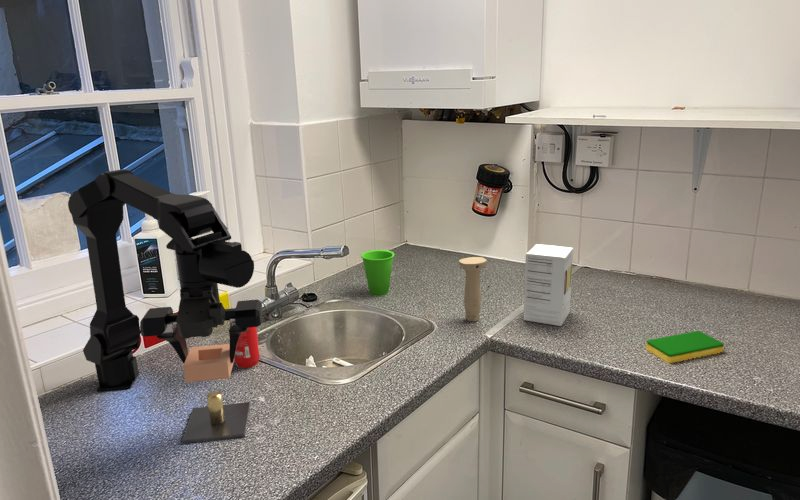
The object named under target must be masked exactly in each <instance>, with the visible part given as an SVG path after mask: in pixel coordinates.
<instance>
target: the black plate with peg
mask: <svg viewBox="0 0 800 500" xmlns="http://www.w3.org/2000/svg"><path fill="white" fill-rule="evenodd" d="M206 398H207V406H201V407H199V406H198V407H193V408H192V411H191V414H190V417H189V420H188V423H187V425H186V429H185V431H184V434H183V438H182V444H189V443H190V444H192V443H199V442H200V443H201V442H209V441H216V440H226V439H236V438H244V437H245V436H246V431H247V424H248V420H249V419H248V418H249V414H250V413H249V412H250V406H251V402H250V401H249V402H248V401H247V402H240V403H231V404H223V402H224V401H223V394H222V392H221V391H217V390H216V391H212V392H209V393H208V394H207V395H206Z"/></svg>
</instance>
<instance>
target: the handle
mask: <svg viewBox="0 0 800 500" xmlns="http://www.w3.org/2000/svg"><path fill="white" fill-rule="evenodd" d="M458 261H459V262H458V265H459V267H460V268H461V269H463V270H464V271H465V279H464V280H465V283H464V296H463V298H464V299H463V301H464V303H463V305H464V312H465V314H464V315H465V320H467V322H475V323H476V322H477V321H479V320H480V316H481V314H480V313H481V306H482V290H481V270H482V269H484V268H485V267H486V266H487V263H488V262H487V259H486V258H484V257H482V256H472V257H464V258H460V259H459V260H458Z"/></svg>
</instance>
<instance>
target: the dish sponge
mask: <svg viewBox="0 0 800 500" xmlns="http://www.w3.org/2000/svg"><path fill="white" fill-rule="evenodd" d="M645 350H647V352H650V353H651V354H653V355H655V356H656V357H658V358H659V359H661V360H663V361H664V362H666V363H667V364H673V363H678V362H682V361H683V360H684V361H687V360H688V359H689V360H693V359H692V358H694V359H697V358H696V357H698V358H702V357H701V356H703V357H707V355H708V356H712V355H711V354H713V355H717V353H718V354H721V353H720V352H722V353H724V352H723V350H724V343H723V342H722V341H720V340H717V339H716V338H714V337H712V336H710V335H708V334H706V333H705V332H702V331H700V330H695V331H689V332H685V333H679V334H673V335H669V336H664V337H660V338H659V337H658V338H654V339H648V340H646V347H645Z"/></svg>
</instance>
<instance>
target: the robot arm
mask: <svg viewBox="0 0 800 500" xmlns="http://www.w3.org/2000/svg"><path fill="white" fill-rule="evenodd" d="M126 204H127V205H128V206H130V207H133V209H135V210H138V211H140V212H143V213H144V214H146V215H147V216H149V217H151V218H153V219H154V220H156V221H157V225H158V229H159V230H161V231H162V232H164V234H165V235H167V236H168V237H169V238H171V239H170V241H169V242H168V243H167V244H166V245H165V246H166V249H168V250H171V251H175V259H176V260H175V261H176V267H177V273H178V280H179V285H180V286H179V287H180V288H179V296H180V300H179V305H178V311H177V312H174V310H173V308H172V307H171V306H164V307H152V308H150V307H149V309H148V310H147V311H146V312H145V314H144V315H143V317H142V318H141V320H140V317H139V316H138V315H136V314H134V313H133V312H132V311H131V310H130V309H129V308H128V307H127V305H126V298H125V292H124V291H125V289H124V284H123V277H122V269H121V263H120V260H121V259H120V254H119V247H118V239H117V233H118V231H119V230H120V228H121V225H122V224H123V220H124V206H125V205H126ZM67 207H68V211H69V213H70V214H71V218H72V222H73V224H74V225H75V227H77V228H78V230H79V231H80V232H81V233H82V234H83V235H84V236H85V239H86V245H87V253H88V258H89V259H88V260H89V265H90V271H91V272H90V273H91V278H92V285H93V291H94V297H95V304H96V311H95V312H94V314H93V316H92V318H91V321H90V323H89V333H90V334H89V335H90V336H89V339H88V340H87V343H86V344H85V345H84V347H83V349H82V352H83V355H84V357H85V360H86V361H88V362H90V363H93V364H94V366H95V367H94V368H95V371H96V376H97V382H98V385H97V387H95V391H96V392H102V391H103V392H104V391H111V390H112V391H113V390H123V389H131V387H133V384H134V383H135V381H136V380H137V378H138V376H139V375H140V371H139V367H138V361H137V357H136V356H134V354H133V351H134V350H138V349H139V348H140V341H141V336H142V337H146V338H147V337H156V338H157V340H164V341H166V342H168V343H169V344H170V346H171V347H172V348H173V349H174V351H175V352H176V354H177V356H178V357H179V359H180V361H181V362H182V364H183V365H184V363H185V360H186V358H187V356H188V353H189V350H188V345H187V341H186V339H190V338H197V337H202V338H205V337H209V336H211V335H212V334H213V330H214V328H218V326H224V325H225V322H226V321H228V322H229V330H228V335H229V344H230V361H231V363H233V361H234V357H235V352H236V347H237V343H238V339H239V336H240V334H241V332H246V331H247V330H248V327H257V328H258V327H259V326H261V325H262V321H263V317H264V316H263V314H264V311H263V304H262V302H261V301H260V300H259V299H247V300H246V299H245V300H238V301H237V302H236V307H234V308H233V307H231V308H225V307H224V305H223V303H222V302H221V299H220V294H219V285H224V286H228V287H232V288H236V289H237V288H242V287H245V286H246V285H247V284H248V283H249V282H250V280H251V279H252V278H253V275H254V271H255V263H254V260H253V259H252V257H251V255H250V253H248V252H247V251H245V250H243V248H242V247H243V246H242V243H241V242H238V241H232V242H230V240H232V236H231V233H230V232H229V231H228V229H229V228H228V227H227V226H226V225H225V223H224V222H223V220H222V219H221V217H220V215H219V214H218V212H217V211H216V209H215V208H214V206H213V204H212V203H211V201H210V200H208V199H207V198H205V197H201V196H198V195H197V196H196V195H194V194H176V193H173V192H170V191H169V190H166V189H164V188H162V187H160V186H158V185H156V184H154V183H152V182H150V181H147V180H145V179H143V178H141V177H139V176H137V175H135V174H134V173H133V172H132V171H131V170H129V169H124V168H122V169H116V170H110V171H104V172H102V173H101V174H99V175H98V176H97V177H96V178H95V179H93V180H92V181H91V182H89V183H87V184H85V185H84V186H81V187H80V188H78V189H77V190H75V191H73V192H72V194H71V196H69V198H68V201H67ZM201 235H202V236H201ZM194 237H195V238H194ZM218 284H219V285H218ZM229 320H230V321H229ZM230 323H231V325H230ZM234 362H235V361H234ZM233 364H234V363H233Z"/></svg>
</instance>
